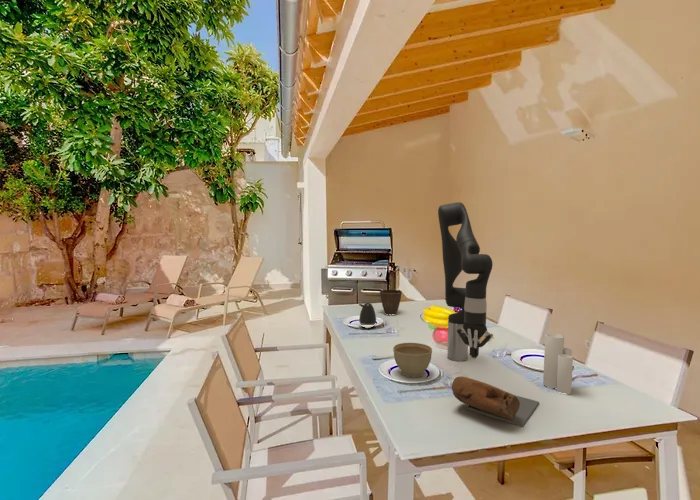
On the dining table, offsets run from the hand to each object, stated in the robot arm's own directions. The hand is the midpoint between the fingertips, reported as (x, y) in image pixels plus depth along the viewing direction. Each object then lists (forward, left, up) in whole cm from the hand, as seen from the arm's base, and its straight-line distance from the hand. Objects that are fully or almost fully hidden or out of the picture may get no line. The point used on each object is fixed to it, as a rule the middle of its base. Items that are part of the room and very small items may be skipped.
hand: (473, 357), depth 141 cm
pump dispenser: (-52, -86, -15) cm, 101 cm away
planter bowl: (-6, -29, -15) cm, 33 cm away
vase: (-29, +22, -15) cm, 40 cm away
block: (+9, -2, -9) cm, 13 cm away
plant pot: (-90, -94, -15) cm, 130 cm away
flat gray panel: (0, +11, -15) cm, 19 cm away
